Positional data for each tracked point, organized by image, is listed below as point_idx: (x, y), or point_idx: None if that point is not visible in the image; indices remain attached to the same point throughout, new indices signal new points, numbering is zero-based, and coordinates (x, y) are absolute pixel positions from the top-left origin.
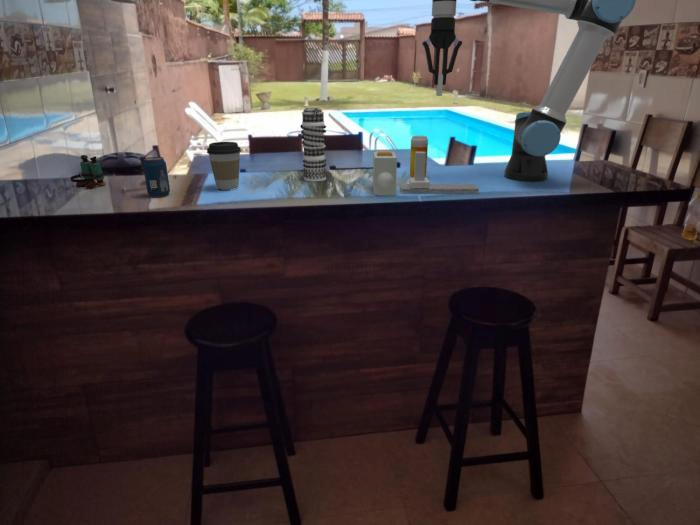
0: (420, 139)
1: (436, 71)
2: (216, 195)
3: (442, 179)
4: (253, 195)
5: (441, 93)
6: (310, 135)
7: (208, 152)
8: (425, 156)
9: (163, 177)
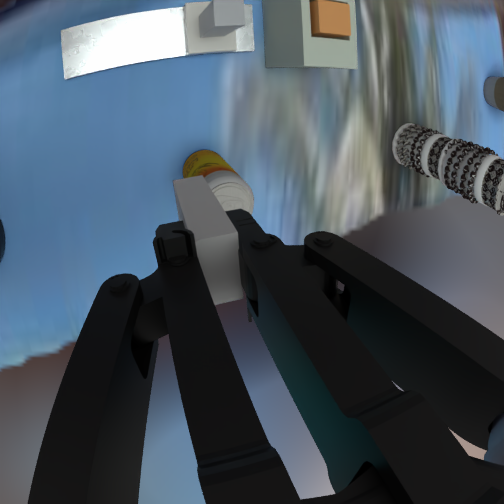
0: (225, 180)
1: (271, 246)
2: (493, 52)
3: (139, 162)
4: (466, 40)
5: (178, 183)
6: (479, 148)
7: None
8: (211, 2)
9: None
